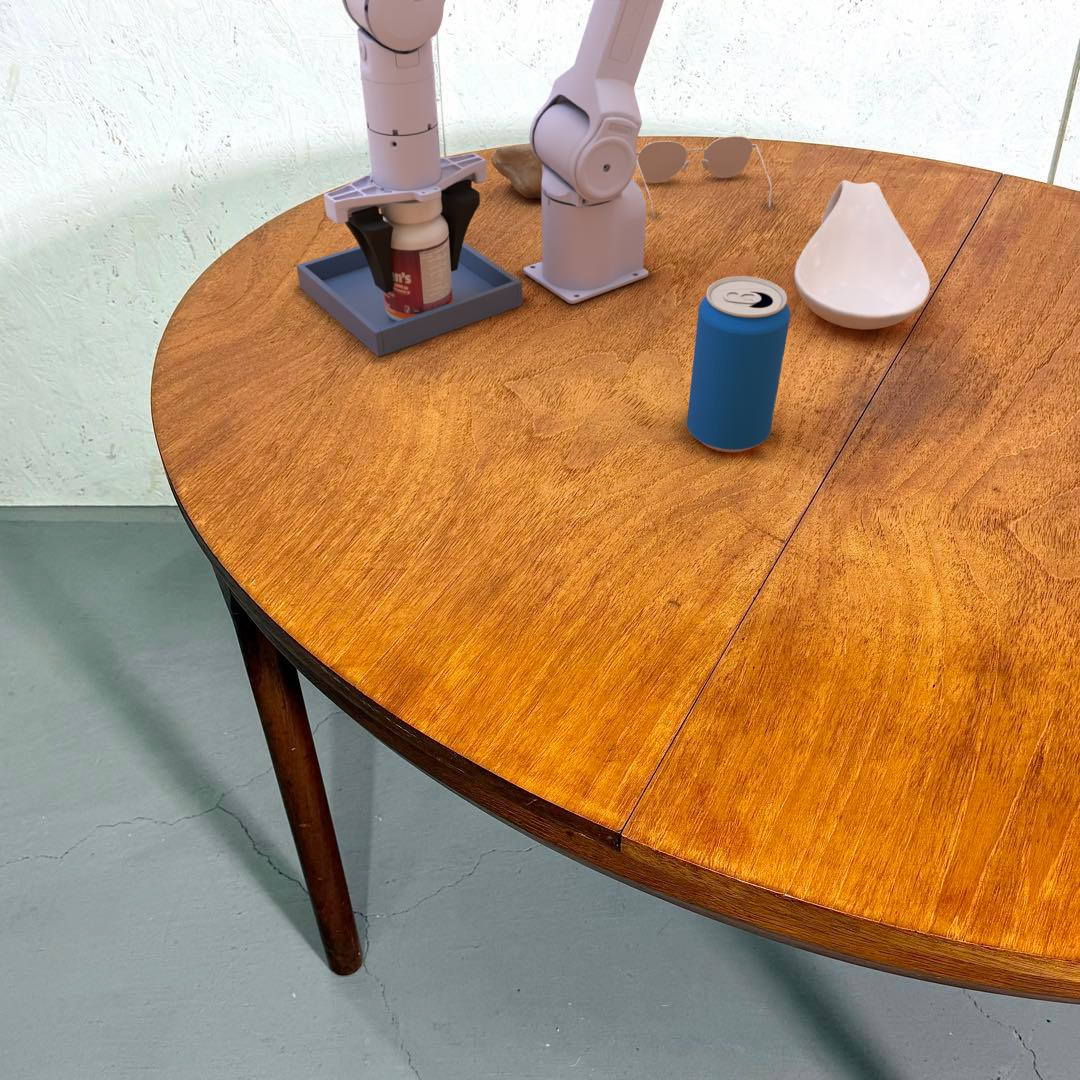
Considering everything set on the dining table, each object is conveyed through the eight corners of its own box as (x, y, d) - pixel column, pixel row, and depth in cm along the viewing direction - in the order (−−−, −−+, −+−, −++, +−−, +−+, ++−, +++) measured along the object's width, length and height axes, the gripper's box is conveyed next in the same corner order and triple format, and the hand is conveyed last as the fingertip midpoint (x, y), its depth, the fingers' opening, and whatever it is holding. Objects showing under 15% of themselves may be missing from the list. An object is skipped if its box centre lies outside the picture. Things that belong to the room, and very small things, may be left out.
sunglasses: (750, 175, 120) (758, 134, 116) (772, 218, 114) (781, 176, 111) (630, 184, 118) (634, 142, 114) (646, 228, 113) (651, 186, 109)
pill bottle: (371, 313, 96) (356, 192, 89) (419, 287, 100) (409, 169, 92) (419, 335, 93) (408, 213, 86) (467, 308, 97) (461, 188, 89)
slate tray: (436, 244, 107) (435, 222, 106) (522, 305, 98) (522, 281, 96) (300, 288, 101) (296, 264, 99) (378, 357, 92) (375, 332, 90)
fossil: (595, 146, 111) (503, 134, 108) (595, 187, 111) (503, 176, 108) (567, 176, 120) (482, 165, 117) (567, 214, 120) (481, 205, 117)
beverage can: (767, 462, 80) (791, 322, 72) (681, 453, 81) (696, 313, 73) (771, 414, 85) (794, 277, 77) (690, 405, 86) (704, 269, 78)
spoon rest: (928, 353, 91) (949, 277, 87) (790, 344, 93) (803, 268, 88) (899, 231, 109) (915, 162, 104) (783, 224, 110) (793, 156, 105)
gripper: (345, 159, 80) (365, 320, 89) (504, 118, 86) (508, 271, 95) (303, 131, 84) (327, 286, 93) (458, 93, 90) (466, 242, 99)
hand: (416, 277), depth 94 cm, fingers closed on pill bottle, 6 cm apart
